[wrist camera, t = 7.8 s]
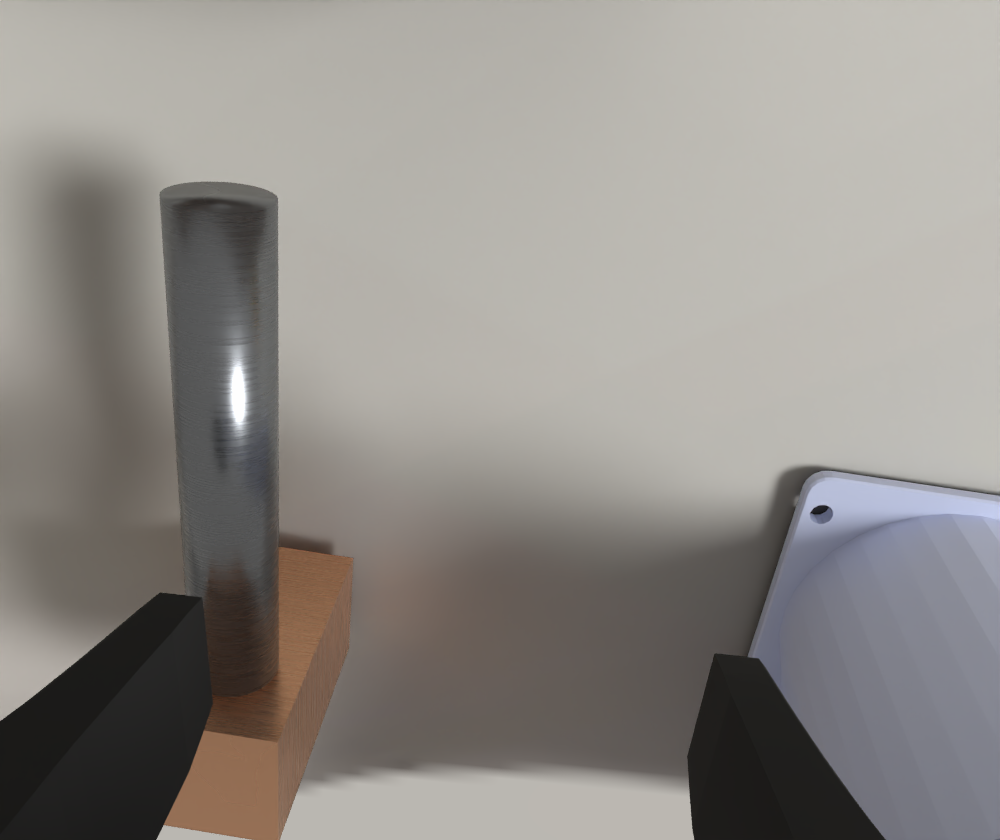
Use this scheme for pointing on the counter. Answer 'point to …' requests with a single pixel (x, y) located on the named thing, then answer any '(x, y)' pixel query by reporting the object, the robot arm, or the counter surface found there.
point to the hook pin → (243, 518)
